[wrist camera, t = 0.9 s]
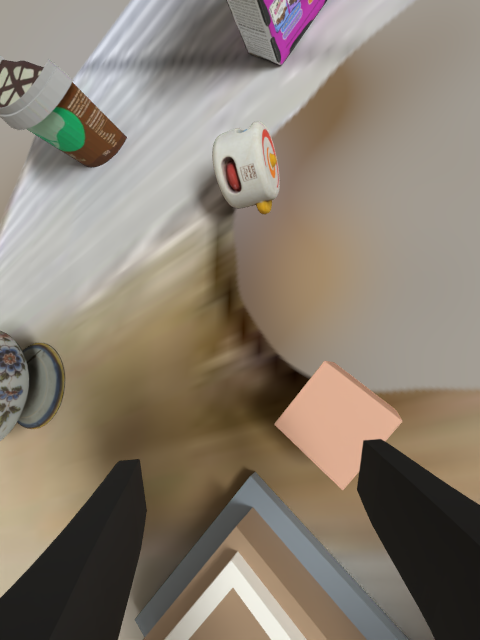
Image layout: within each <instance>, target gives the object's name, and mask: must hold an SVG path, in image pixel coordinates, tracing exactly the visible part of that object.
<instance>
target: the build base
mask: <svg viewBox="0 0 480 640" xmlns="http://www.w3.org/2000/svg"><path fill="white" fill-rule="evenodd" d="M135 621H136V623H137V624H138V626H139V628H140V630H141V632H142V633H143V635H144V637H145V638H144V639H143V640H409V639H408V638H407V637H406V636H405V635H404V634H403V633H402V632H401V630H400V629H399V628H398V627H397V626H396V625H395V624H394V623H393V622H392V621H391V620H390V618H389V617H388V616H387V615H386V614H385V613H384V612H383V611H382V610H381V609H380V608H379V606H378V605H377V604H376V603H375V602H374V601H373V600H372V599H371V598H370V597H369V595H368V594H367V593H366V592H365V591H364V590H363V589H362V588H361V587H360V586H359V585H358V583H357V582H356V581H355V580H354V579H353V578H352V577H351V576H350V575H349V574H348V573H347V571H346V570H345V569H344V568H343V567H342V566H341V565H340V564H339V563H338V562H337V561H336V559H335V558H334V557H333V556H332V555H331V554H330V553H329V552H328V551H327V550H326V549H325V547H324V546H323V545H322V544H321V543H320V542H319V541H318V540H317V539H316V538H315V537H314V535H313V534H312V533H311V532H310V531H309V530H308V529H307V528H306V527H305V526H304V525H303V523H302V522H301V521H300V520H299V519H298V518H297V517H296V516H295V515H294V514H293V513H292V511H291V510H290V509H289V508H288V507H287V506H286V505H285V504H284V503H283V502H282V501H281V499H280V498H279V497H278V496H277V495H276V494H275V493H274V492H273V491H272V490H271V489H270V487H269V486H268V485H267V484H266V483H265V482H264V481H263V480H262V479H261V478H260V477H259V475H258V474H257V473H256V472H254V473H253V474H252V475H251V476H250V477H249V478H248V480H247V481H246V482H245V483H244V485H243V486H242V487H241V488H240V489H239V491H238V492H237V493H236V494H235V496H234V497H233V498H232V499H231V501H230V502H229V503H228V504H227V506H226V507H225V508H224V509H223V511H222V512H221V513H220V514H219V516H218V517H217V518H216V519H215V521H214V522H213V523H212V524H211V525H210V527H209V528H208V529H207V530H206V532H205V533H204V534H203V535H202V537H201V538H200V539H199V540H198V542H197V543H196V544H195V545H194V547H193V548H192V549H191V550H190V552H189V553H188V554H187V555H186V557H185V558H184V559H183V560H182V561H181V563H180V564H179V565H178V566H177V568H176V569H175V570H174V571H173V573H172V574H171V575H170V576H169V578H168V579H167V580H166V581H165V583H164V584H163V585H162V586H161V588H160V589H159V590H158V591H157V593H156V594H155V595H154V596H153V597H152V599H151V600H150V601H149V602H148V604H147V605H146V606H145V607H144V609H143V610H142V611H141V612H140V614H139V615H138V616H137V617H136V619H135Z"/></svg>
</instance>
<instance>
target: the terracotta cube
mask: <svg viewBox="0 0 480 640" xmlns="http://www.w3.org/2000/svg"><path fill="white" fill-rule="evenodd" d="M401 422H402V419H401V418H400V416H399V414H398V413H397V411H396V409H394V408H393V407H392V406H390V405H389V404H388V403H386V402H385V401H384V400H382V399H381V398H380V397H379V396H377V395H376V394H375V393H373V392H372V391H371V390H370V389H368V388H367V387H366V386H364V385H363V384H362V383H360V382H359V381H358V380H356V379H355V378H354V377H353V376H351V375H350V374H349V373H347V372H346V371H345V370H343V369H342V368H341V367H339V366H338V365H337V364H336V363H334V362H329V361H324V362H323V363H322V365H321V366H320V367H319V368H318V370H317V371H316V372H315V374H314V375H313V376H312V377H311V378H310V380H309V381H308V382H307V384H306V385H305V386H304V387H303V389H302V390H301V391H300V392H299V394H298V395H297V396H296V397H295V399H294V400H293V401H292V402H291V404H290V405H289V406H288V407H287V409H286V410H285V411H284V412H283V414H282V415H281V416H280V418H279V419H278V420H277V421H276V423H275V424H274V425H275V426H276V427H278V428H279V429H280V430H281V431H282V432H283V433H284V434H285V435H286V436H287V437H288V438H289V439H290V440H291V441H292V442H293V443H294V444H295V445H296V446H297V447H298V448H299V449H300V450H301V451H302V452H303V453H305V454H306V455H307V456H308V457H309V458H310V459H311V460H312V461H313V462H314V463H315V464H316V465H317V466H318V467H319V468H320V469H321V470H322V471H323V472H324V473H325V474H326V475H327V476H328V477H329V478H330V479H332V480H333V481H334V482H335V483H336V484H337V485H338V486H339V487H340V488H341V489H342V490H343V489H344V488H345V487H346V486H347V485H348V484H349V482H350V481H351V480H352V479H353V478H354V477H355V476H356V474H357V473H358V472H359V470H360V462H361V454H362V446H363V440H374V439H382V440H383V441H386V440H387V439H388V437H389V436H390V435H391V434H392V433H393V432H394V430H395V429H396V428H397V427H398V426H399V425H400V424H401Z"/></svg>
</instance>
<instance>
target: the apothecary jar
mask: <svg viewBox="0 0 480 640" xmlns="http://www.w3.org/2000/svg"><path fill="white" fill-rule="evenodd" d="M64 384H65V377H64V369H63V365H62V362H61V359H60V357H59V355H58V354H57V352H56V351H55V350H54V349H53V348H52V347H50V346H49V345H47V344H44V343H35V344H32V345H30V346H28V347H27V348H25V349H24V350H23V351H22V350H21V348H20V347H19V345H18V344H17V343H16V342H15V340H14V339H13V338H12V337H11V336H9V335H8V334H6V333H4V332H2V331H0V441H1V440H2V439H3V438H4V437H5V436H6V435H7V434H8V433H9V432H10V431H11V430H12V429H13V427H14V426H15V424H16V423H18V424H20V425H21V426H23V427H25V428H28V429H36V428H40V427H42V426H44V425H46V424H47V423H48V422H49V421H50V420H51V419H52V418H53V417H54V415H55V414H56V412H57V410H58V408H59V406H60V404H61V401H62V396H63V392H64Z"/></svg>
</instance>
